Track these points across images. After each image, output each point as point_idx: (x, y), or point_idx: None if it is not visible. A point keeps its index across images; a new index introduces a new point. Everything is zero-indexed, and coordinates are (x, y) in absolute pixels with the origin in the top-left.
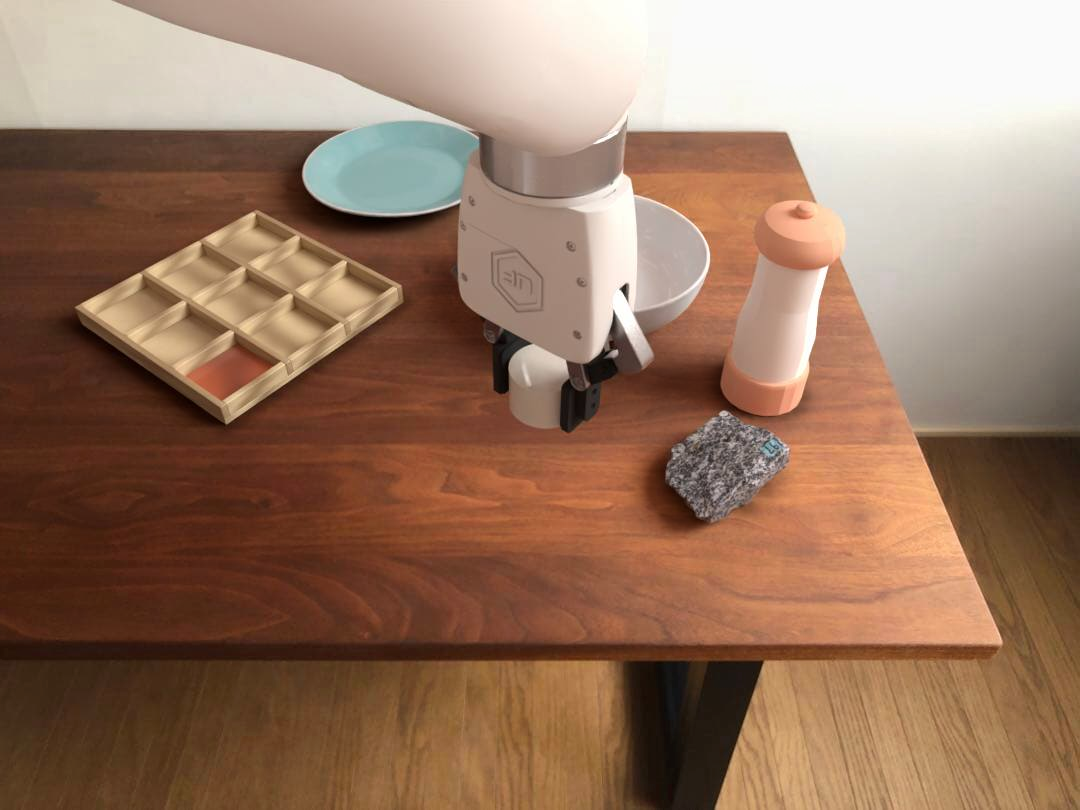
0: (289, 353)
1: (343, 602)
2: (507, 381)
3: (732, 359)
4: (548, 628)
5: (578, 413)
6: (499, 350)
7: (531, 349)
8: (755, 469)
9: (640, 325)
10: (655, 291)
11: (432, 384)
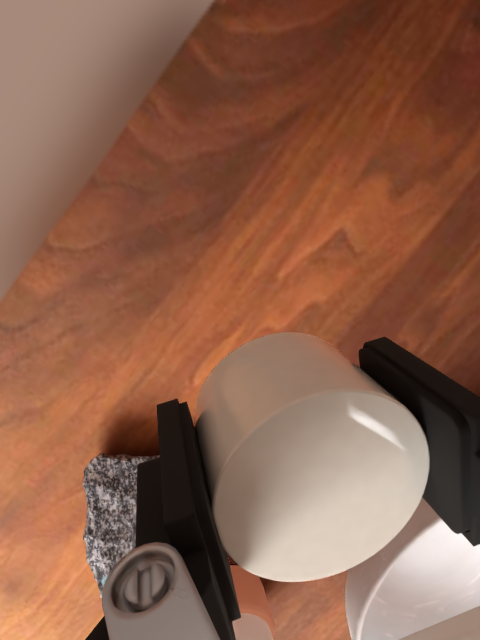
0: None
1: (285, 5)
2: (377, 376)
3: (253, 614)
4: (85, 210)
5: (159, 465)
6: (471, 421)
7: (406, 492)
8: (97, 553)
9: (361, 566)
10: (392, 587)
11: (469, 317)
